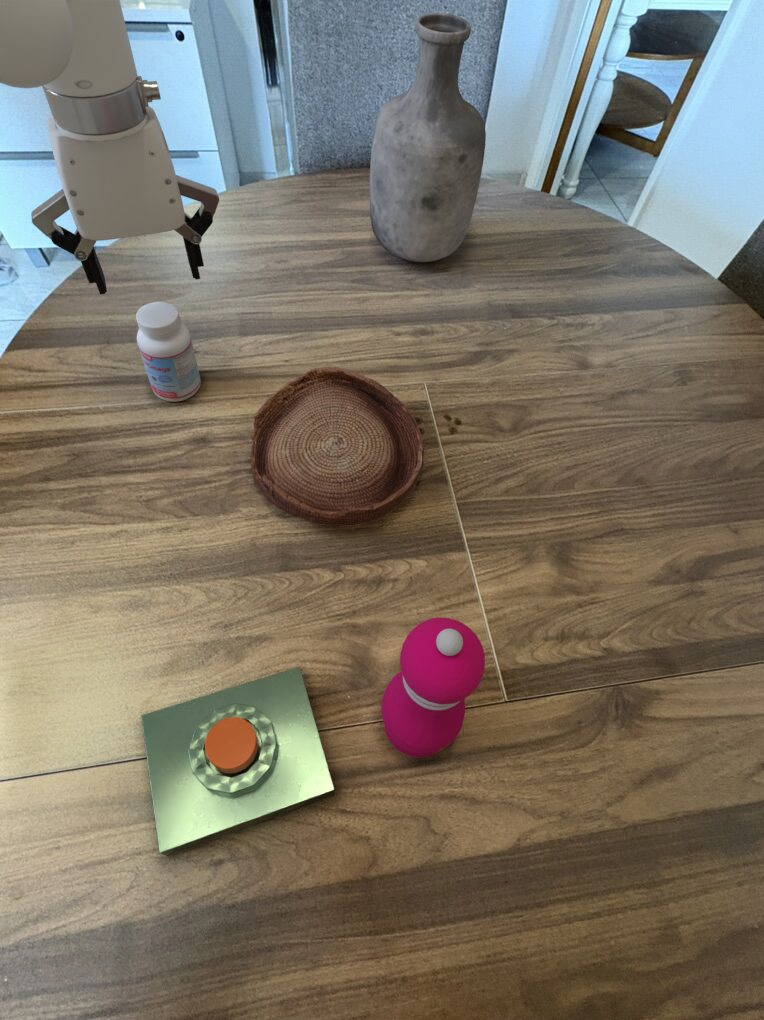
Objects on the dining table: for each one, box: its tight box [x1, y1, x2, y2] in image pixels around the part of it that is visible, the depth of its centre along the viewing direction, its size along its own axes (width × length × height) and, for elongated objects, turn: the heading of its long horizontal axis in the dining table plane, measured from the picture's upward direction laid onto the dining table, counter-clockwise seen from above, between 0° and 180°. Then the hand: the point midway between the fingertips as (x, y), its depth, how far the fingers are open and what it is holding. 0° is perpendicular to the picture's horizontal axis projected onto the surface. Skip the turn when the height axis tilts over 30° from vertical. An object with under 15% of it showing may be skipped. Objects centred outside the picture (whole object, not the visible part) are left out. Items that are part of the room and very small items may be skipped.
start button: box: [205, 717, 258, 773], centre depth 50 cm, size 4×4×2 cm
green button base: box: [140, 666, 336, 857], centre depth 52 cm, size 14×11×4 cm
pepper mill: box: [380, 616, 486, 759], centre depth 48 cm, size 7×7×20 cm
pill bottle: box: [135, 301, 202, 403], centre depth 74 cm, size 6×6×11 cm
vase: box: [369, 12, 487, 263], centre depth 87 cm, size 16×16×30 cm
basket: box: [250, 366, 425, 528], centre depth 71 cm, size 22×20×5 cm
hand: (149, 278), depth 66 cm, fingers open, 9 cm apart
